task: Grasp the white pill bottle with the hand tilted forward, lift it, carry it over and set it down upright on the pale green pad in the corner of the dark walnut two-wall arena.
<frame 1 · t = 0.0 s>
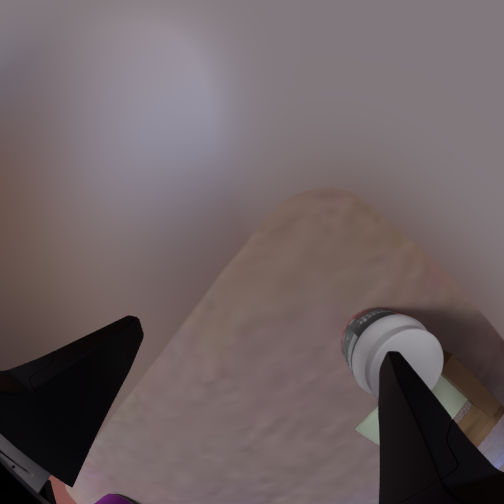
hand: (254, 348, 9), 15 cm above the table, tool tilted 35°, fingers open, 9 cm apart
pill bottle: (370, 338, 22), on the table
arena: (416, 415, 20), on the table
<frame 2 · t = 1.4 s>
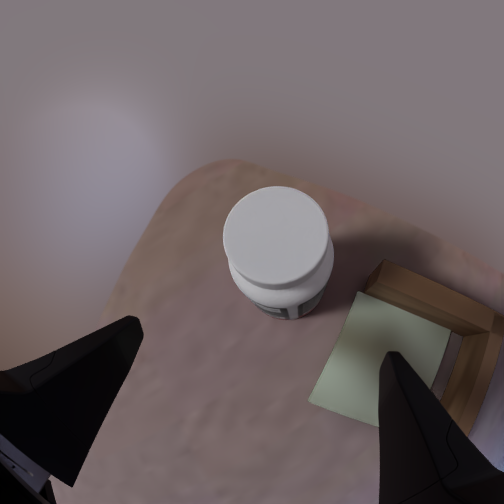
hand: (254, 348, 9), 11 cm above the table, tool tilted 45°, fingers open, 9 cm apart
pill bottle: (286, 284, 21), on the table
arena: (386, 367, 18), on the table
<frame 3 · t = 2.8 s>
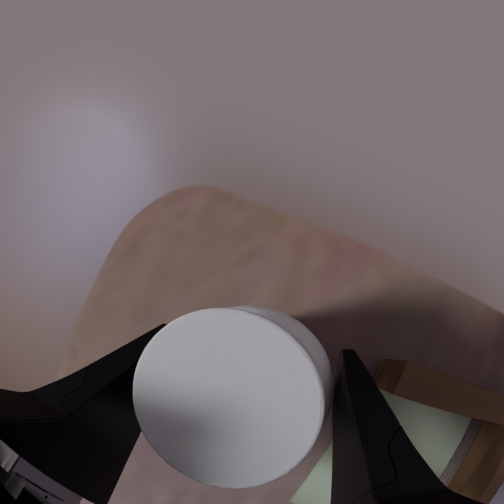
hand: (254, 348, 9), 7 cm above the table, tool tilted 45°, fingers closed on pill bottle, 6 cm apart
pill bottle: (269, 370, 15), on the table, touching gripper
arena: (389, 465, 11), on the table
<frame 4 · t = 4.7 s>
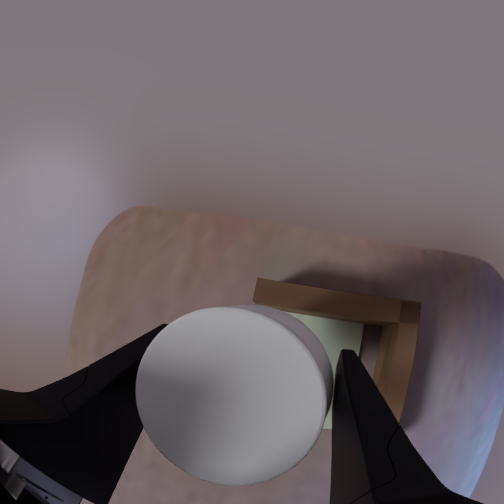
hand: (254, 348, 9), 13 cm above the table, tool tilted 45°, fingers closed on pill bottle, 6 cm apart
pill bottle: (268, 369, 15), point 6 cm above the table, touching gripper
arena: (298, 370, 20), on the table
when the fingers open (8 cm above the table, at t = 6.3 s): pill bottle stays where it is, resting on arena.
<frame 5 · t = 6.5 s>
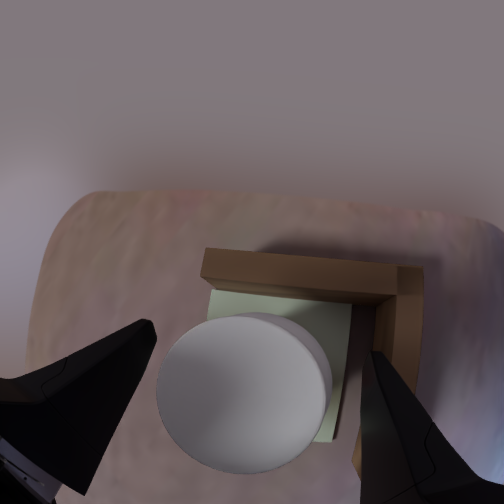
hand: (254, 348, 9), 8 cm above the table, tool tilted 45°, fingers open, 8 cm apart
pill bottle: (270, 371, 16), resting on arena
arena: (271, 368, 16), on the table
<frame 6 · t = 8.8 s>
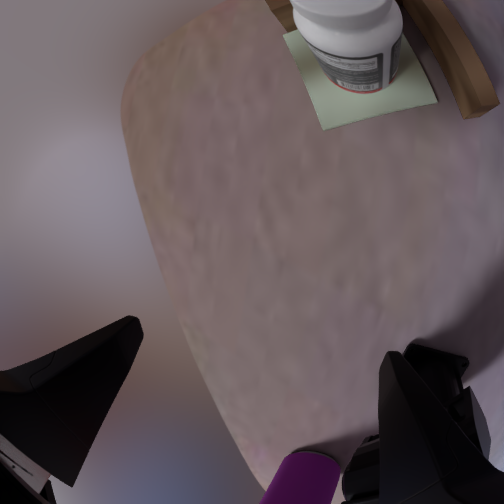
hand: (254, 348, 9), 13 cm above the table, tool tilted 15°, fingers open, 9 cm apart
pill bottle: (359, 63, 15), resting on arena
beverage can: (313, 462, 26), on the table
arena: (358, 61, 15), on the table
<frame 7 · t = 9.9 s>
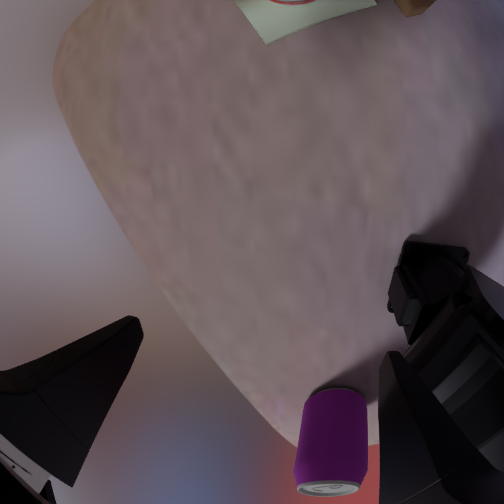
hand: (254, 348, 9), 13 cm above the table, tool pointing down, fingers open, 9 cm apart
beverage can: (335, 400, 29), on the table
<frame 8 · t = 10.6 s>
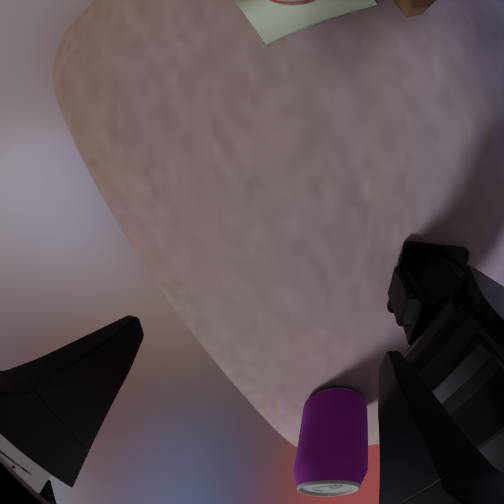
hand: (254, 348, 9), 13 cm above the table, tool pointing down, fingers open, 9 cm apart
beverage can: (335, 400, 29), on the table
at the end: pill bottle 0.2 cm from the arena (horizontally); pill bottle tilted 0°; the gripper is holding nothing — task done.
